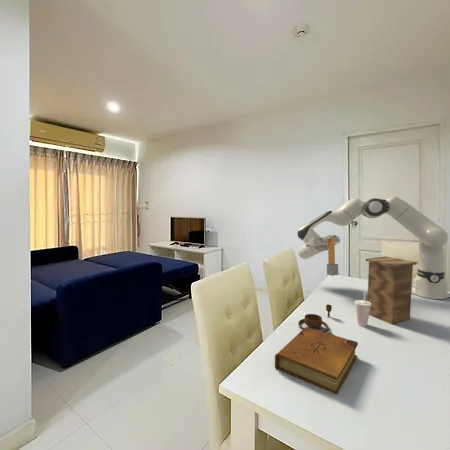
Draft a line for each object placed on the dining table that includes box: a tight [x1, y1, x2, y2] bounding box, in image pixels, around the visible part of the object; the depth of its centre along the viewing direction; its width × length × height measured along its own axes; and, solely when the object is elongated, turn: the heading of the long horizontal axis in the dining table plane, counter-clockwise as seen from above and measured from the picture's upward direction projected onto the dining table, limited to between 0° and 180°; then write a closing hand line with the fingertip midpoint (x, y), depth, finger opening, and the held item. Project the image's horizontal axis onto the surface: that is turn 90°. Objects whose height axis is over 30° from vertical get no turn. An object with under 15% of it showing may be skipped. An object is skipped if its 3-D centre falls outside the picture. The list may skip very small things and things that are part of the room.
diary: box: [274, 326, 359, 395], centre depth 86 cm, size 23×19×6 cm
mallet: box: [326, 235, 339, 277], centre depth 149 cm, size 22×5×4 cm
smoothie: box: [354, 291, 371, 328], centre depth 112 cm, size 6×6×14 cm
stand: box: [365, 256, 418, 326], centre depth 119 cm, size 14×14×26 cm
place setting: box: [297, 304, 334, 335], centre depth 112 cm, size 18×20×6 cm
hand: (333, 236), depth 148 cm, fingers closed on mallet, 2 cm apart
